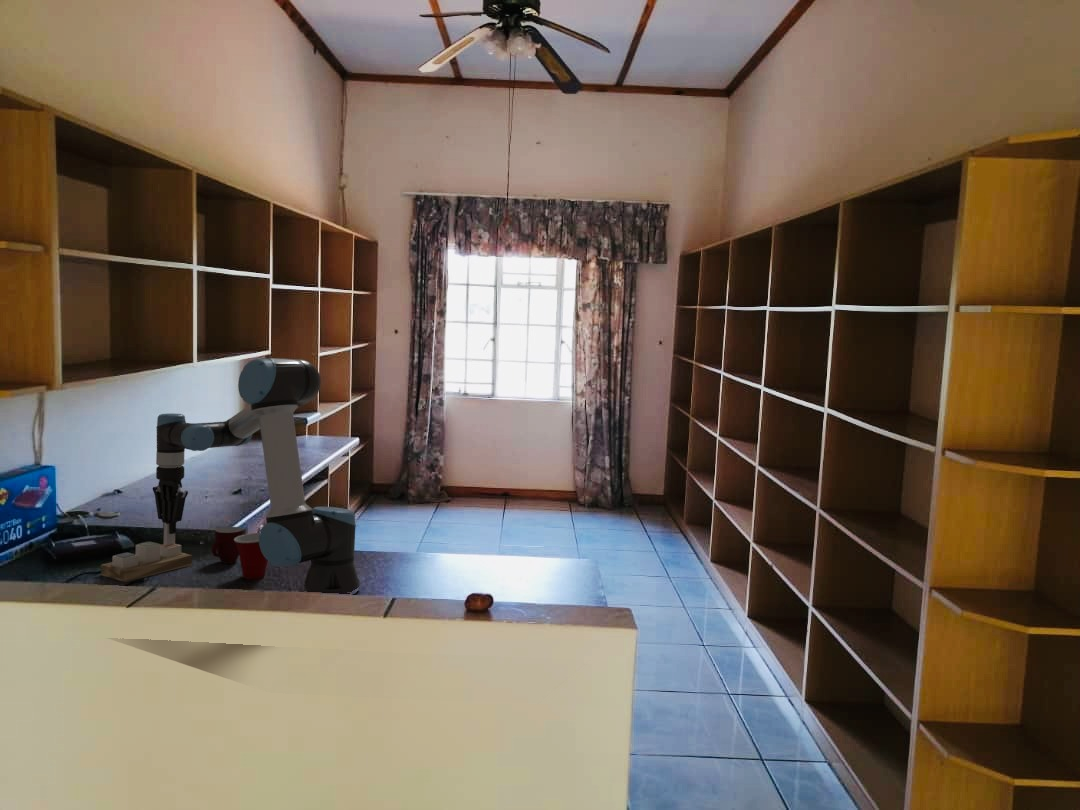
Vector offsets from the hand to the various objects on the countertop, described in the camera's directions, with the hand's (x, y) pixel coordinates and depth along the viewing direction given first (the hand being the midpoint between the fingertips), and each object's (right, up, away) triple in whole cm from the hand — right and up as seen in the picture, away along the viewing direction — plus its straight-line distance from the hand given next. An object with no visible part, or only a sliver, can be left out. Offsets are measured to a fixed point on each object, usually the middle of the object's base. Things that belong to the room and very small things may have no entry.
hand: (169, 543), depth 229 cm
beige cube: (0, -6, 0) cm, 6 cm away
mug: (+15, -7, +5) cm, 17 cm away
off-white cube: (-7, -6, -12) cm, 15 cm away
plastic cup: (+28, -8, -7) cm, 30 cm away
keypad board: (-3, -7, -6) cm, 9 cm away
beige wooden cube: (-3, -4, -6) cm, 8 cm away
